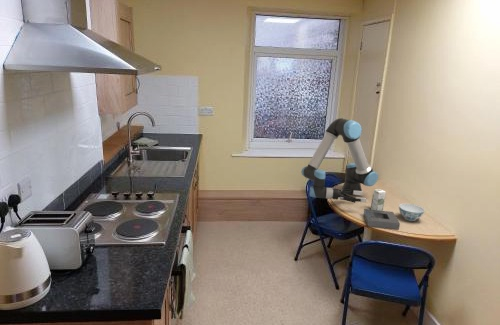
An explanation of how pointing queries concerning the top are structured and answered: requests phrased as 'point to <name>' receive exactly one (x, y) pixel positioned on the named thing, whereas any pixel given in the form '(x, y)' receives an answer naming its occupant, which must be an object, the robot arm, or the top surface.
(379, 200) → the syrup box
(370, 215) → the collar
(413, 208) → the chinaware
